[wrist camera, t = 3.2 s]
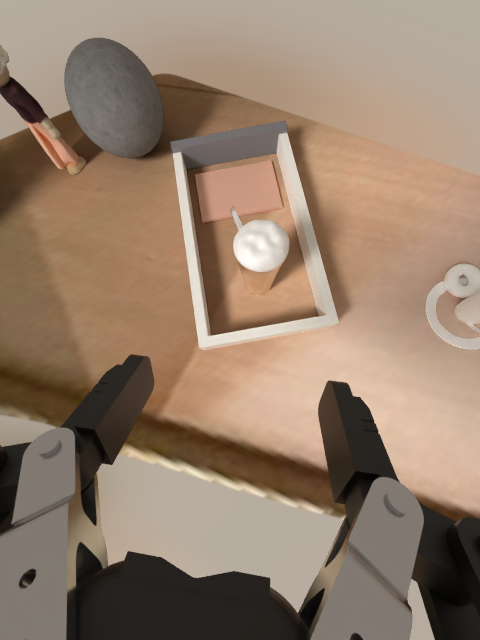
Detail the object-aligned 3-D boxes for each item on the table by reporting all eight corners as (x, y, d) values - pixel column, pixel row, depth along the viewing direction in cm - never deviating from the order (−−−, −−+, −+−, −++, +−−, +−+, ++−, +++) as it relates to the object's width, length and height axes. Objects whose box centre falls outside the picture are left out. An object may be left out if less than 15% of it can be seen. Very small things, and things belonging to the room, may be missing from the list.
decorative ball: (151, 187, 30) (104, 100, 21) (88, 162, 32) (16, 69, 22) (187, 130, 32) (160, 25, 22) (127, 108, 33) (76, 0, 24)
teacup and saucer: (437, 262, 27) (470, 243, 23) (509, 291, 26) (557, 277, 22) (411, 328, 26) (441, 321, 22) (487, 363, 24) (533, 361, 20)
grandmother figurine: (44, 162, 32) (-87, 30, 20) (62, 142, 33) (-53, 2, 20) (85, 186, 31) (-25, 63, 18) (104, 165, 31) (9, 32, 19)
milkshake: (251, 251, 28) (252, 187, 18) (286, 280, 27) (306, 228, 17) (225, 278, 27) (211, 227, 17) (259, 308, 26) (264, 272, 17)
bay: (204, 350, 26) (198, 347, 23) (177, 163, 31) (170, 141, 28) (330, 327, 25) (341, 321, 23) (282, 144, 31) (285, 120, 28)
